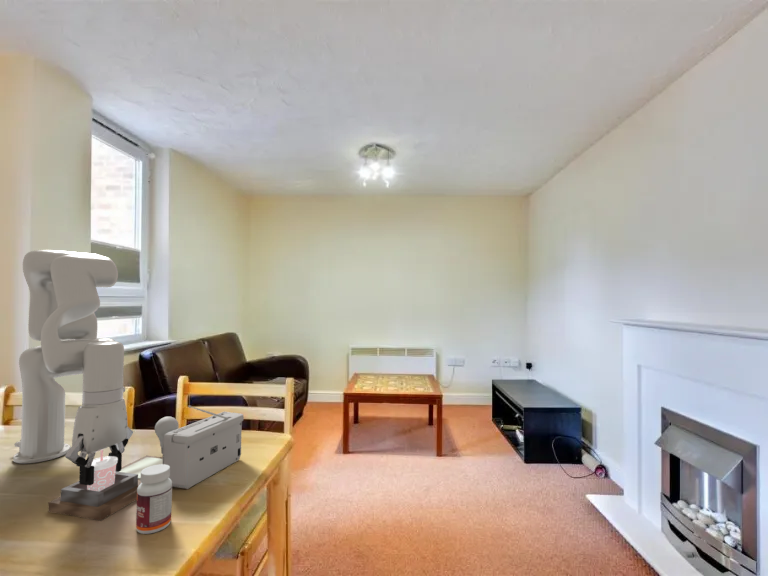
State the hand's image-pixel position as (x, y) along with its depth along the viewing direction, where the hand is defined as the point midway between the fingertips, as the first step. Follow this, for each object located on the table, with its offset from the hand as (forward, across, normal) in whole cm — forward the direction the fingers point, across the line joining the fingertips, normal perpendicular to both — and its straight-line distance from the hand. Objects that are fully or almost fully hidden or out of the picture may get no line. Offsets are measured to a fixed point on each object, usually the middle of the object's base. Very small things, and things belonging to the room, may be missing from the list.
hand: (101, 476), depth 89 cm
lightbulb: (+6, -26, -6) cm, 27 cm away
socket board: (+6, -7, 0) cm, 9 cm away
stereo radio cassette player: (+6, -19, +13) cm, 24 cm away
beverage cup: (+6, 0, 0) cm, 6 cm away
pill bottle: (+6, +5, +19) cm, 21 cm away
